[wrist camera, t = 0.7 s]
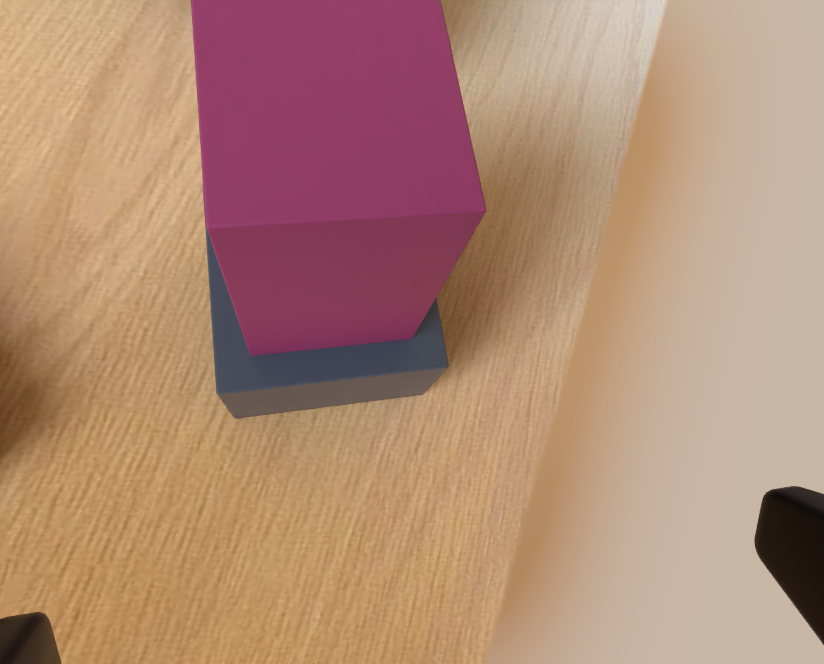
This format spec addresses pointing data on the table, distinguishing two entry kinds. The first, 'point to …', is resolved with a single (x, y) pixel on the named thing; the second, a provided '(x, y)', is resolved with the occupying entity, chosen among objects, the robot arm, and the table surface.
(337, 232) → the mulberry block
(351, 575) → the table surface
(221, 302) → the slate block
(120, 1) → the table surface
